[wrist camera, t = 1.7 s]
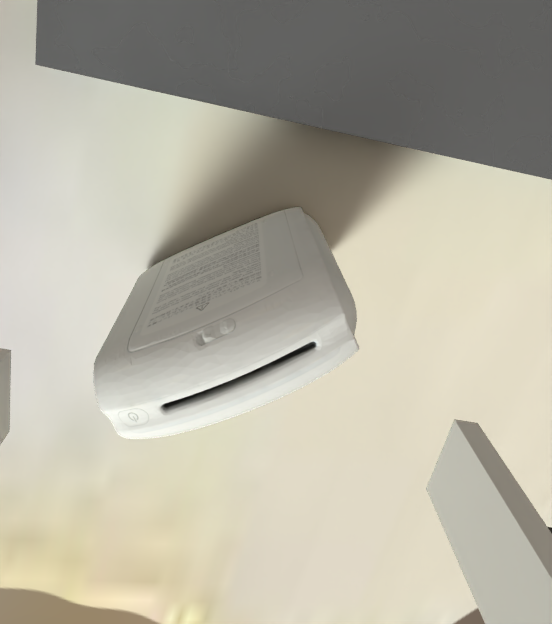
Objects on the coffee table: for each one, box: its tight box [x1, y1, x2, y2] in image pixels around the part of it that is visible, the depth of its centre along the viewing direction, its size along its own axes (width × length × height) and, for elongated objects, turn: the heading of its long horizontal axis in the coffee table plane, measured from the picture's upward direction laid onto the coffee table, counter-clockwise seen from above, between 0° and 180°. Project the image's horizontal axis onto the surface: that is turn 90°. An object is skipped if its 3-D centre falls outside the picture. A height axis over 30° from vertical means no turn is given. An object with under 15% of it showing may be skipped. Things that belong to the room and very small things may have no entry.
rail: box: [36, 0, 552, 180], centre depth 22 cm, size 32×9×6 cm, turn 78°
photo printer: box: [93, 207, 359, 439], centre depth 23 cm, size 10×4×12 cm, turn 113°
